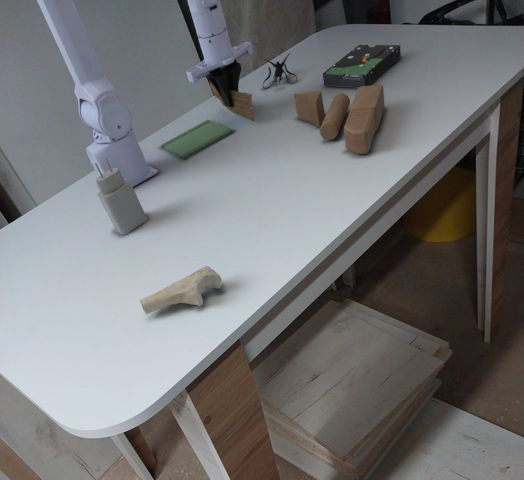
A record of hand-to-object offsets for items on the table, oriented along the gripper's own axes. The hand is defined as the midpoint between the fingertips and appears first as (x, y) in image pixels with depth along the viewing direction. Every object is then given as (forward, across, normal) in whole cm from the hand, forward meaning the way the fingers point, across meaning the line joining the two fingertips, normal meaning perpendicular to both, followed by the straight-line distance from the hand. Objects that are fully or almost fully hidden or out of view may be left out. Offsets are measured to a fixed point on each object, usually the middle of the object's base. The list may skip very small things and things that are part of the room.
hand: (231, 104), depth 109 cm
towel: (+3, -10, 0) cm, 10 cm away
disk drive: (+3, +27, -10) cm, 29 cm away
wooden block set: (+3, +5, -25) cm, 26 cm away
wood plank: (+2, 0, 0) cm, 2 cm away
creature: (+3, +16, +5) cm, 17 cm away
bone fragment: (+3, -38, -43) cm, 57 cm away
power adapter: (+3, -34, -17) cm, 38 cm away
